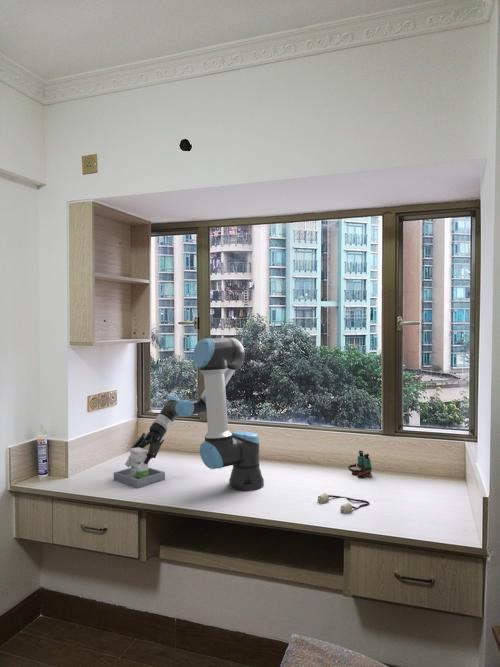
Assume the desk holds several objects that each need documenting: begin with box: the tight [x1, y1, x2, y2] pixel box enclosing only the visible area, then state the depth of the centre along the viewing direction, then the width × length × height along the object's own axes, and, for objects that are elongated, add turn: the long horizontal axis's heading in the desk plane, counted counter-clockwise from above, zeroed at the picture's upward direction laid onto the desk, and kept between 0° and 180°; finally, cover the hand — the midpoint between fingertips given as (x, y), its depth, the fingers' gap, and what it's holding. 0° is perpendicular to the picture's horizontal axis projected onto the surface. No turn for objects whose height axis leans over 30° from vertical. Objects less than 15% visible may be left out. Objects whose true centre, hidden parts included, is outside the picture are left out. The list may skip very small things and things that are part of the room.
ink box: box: [129, 447, 149, 478], centre depth 237 cm, size 9×5×12 cm, turn 40°
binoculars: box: [347, 450, 373, 479], centre depth 238 cm, size 9×11×10 cm
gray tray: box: [113, 466, 166, 489], centre depth 238 cm, size 18×15×4 cm
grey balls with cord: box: [317, 492, 371, 514], centre depth 204 cm, size 16×16×4 cm
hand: (133, 467), depth 235 cm, fingers closed on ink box, 9 cm apart
